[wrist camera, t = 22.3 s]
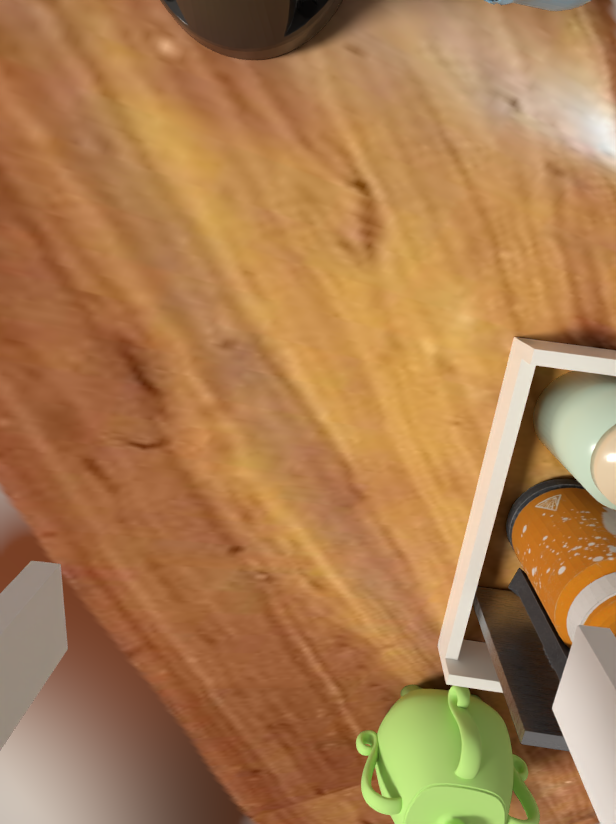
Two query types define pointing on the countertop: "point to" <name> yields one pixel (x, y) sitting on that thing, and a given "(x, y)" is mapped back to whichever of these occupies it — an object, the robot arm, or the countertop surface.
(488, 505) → the white rectangular frame
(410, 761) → the teapot
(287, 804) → the countertop surface
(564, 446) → the jar
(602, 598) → the canister
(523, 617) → the panel
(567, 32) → the countertop surface
